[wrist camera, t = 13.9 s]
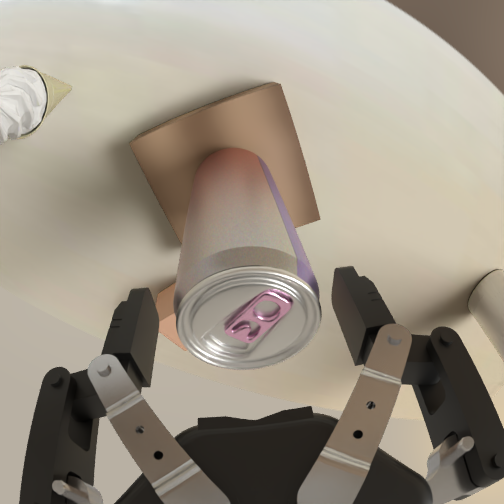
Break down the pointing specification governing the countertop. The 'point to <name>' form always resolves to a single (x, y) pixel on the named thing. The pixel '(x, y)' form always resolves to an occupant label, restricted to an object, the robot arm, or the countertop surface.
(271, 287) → the beverage can
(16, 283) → the countertop surface
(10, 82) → the ice cream cone
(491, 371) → the countertop surface
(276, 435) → the robot arm
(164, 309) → the terracotta cube
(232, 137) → the pedestal
